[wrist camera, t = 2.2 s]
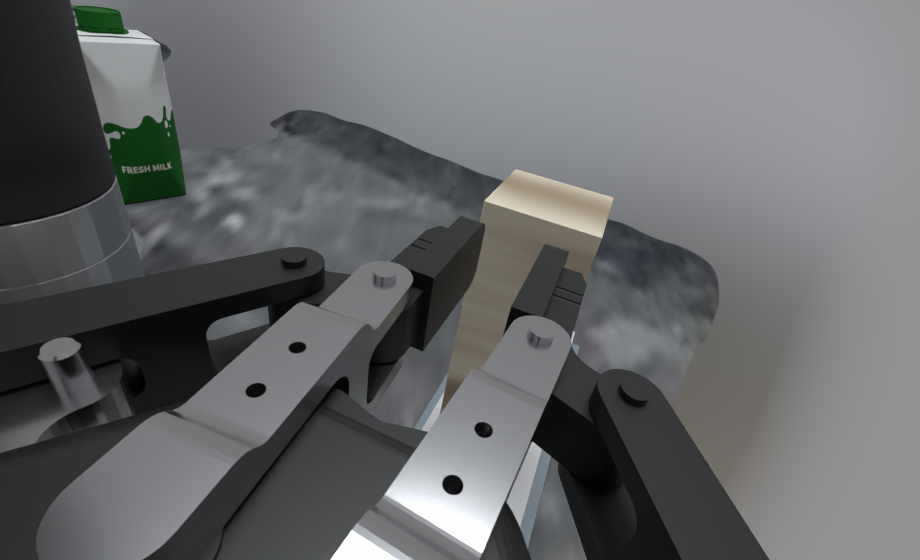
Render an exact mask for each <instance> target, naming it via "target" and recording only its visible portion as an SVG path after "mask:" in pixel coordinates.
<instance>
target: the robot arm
mask: <svg viewBox="0 0 920 560" xmlns="http://www.w3.org/2000/svg"><path fill="white" fill-rule="evenodd" d="M484 233H485V224H484V223H481V222H478V221H475V220H472V219H469V218H466V217H463V216H461V217H459V218H458V219H457V220H456V221H455V222H454V223H453V224H452V225H451V226H450V227H449V228H445V227H442V226H438V227H435V228H432V229H429V230H426V231H425V232H424V233H423V234H421V235H420V236H419V237H418V239H416V240H415V241H414V242H412V243H411V245H409V246H408V247H407V248H406V249H404V250H403V251H402V252H401V253H400V254H399V255H398V256H396V257H395V258H394V259H393V260H392V261H391V262H388V261H375V262H370V263H367V264H364V265H362V266H361V267H359V268H358V269H357V270H356V271H355V272H354V273H353V274H352V275H348V274H341V273H335V272H328V271H325V263H324V258H323V257H322V256H321V255H320V254H319V253H318V252H316V251H314V250H311V249H307V248H301V247H289V248H282V249H277V250H272V251H267V252H263V253H258V254H253V255H248V256H243V257H238V258H233V259H228V260H223V261H218V262H213V263H208V264H203V265H198V266H193V267H188V268H183V269H178V270H173V271H168V272H163V273H158V274H153V275H148V276H145V274H144V271H143V267H142V264H141V260H140V257H139V253H138V250H137V247H136V243H135V239H134V236H133V233H132V229H131V225H130V222H129V218H128V215H127V211H126V208H125V204H124V201H123V197H122V194H121V190H120V187H119V183H118V180H117V176H116V174H115V170H114V166H113V163H112V160H111V157H110V153H109V150H108V146H107V143H106V139H105V135H104V132H103V128H102V124H101V120H100V117H99V113H98V109H97V105H96V102H95V98H94V94H93V91H92V87H91V83H90V80H89V76H88V73H87V69H86V65H85V62H84V58H83V54H82V50H81V46H80V42H79V38H78V33H77V29H76V25H75V21H74V16H73V12H72V8H71V3H70V0H0V560H531V558H530V555H529V552H528V549H527V546H526V543H525V540H524V537H523V534H522V532H521V529H520V526H519V524H518V522H517V520H516V518H515V516H514V514H513V512H512V510H511V508H510V507H509V505H508V504H507V500H508V498H509V495H510V493H511V490H512V488H513V486H514V483H515V481H516V479H517V476H518V474H519V472H520V469H521V467H522V464H523V462H524V460H525V457H526V455H527V453H528V450H529V448H530V446H531V443H532V442H534V443H535V444H536V445H537V446H539V447H540V448H541V449H542V450H544V451H545V452H546V453H547V454H549V455H550V456H551V457H552V458H554V459H555V460H556V461H557V462H559V463H558V472H559V476H560V479H561V482H562V485H563V488H564V491H565V495H566V498H567V501H568V504H569V507H570V510H571V513H572V516H573V519H574V522H575V525H576V528H577V531H578V534H579V537H580V540H581V543H582V546H583V549H584V552H585V555H586V558H587V560H769V558H768V557H767V555H766V554H765V552H764V551H763V549H762V548H761V546H760V544H759V543H758V541H757V540H756V538H755V537H754V535H753V534H752V532H751V530H750V529H749V527H748V526H747V524H746V523H745V521H744V520H743V518H742V516H741V515H740V513H739V512H738V510H737V509H736V507H735V506H734V504H733V502H732V501H731V499H730V498H729V496H728V495H727V493H726V492H725V490H724V488H723V487H722V485H721V484H720V482H719V481H718V479H717V478H716V476H715V474H714V473H713V471H712V470H711V468H710V467H709V465H708V464H707V462H706V460H705V459H704V457H703V456H702V454H701V453H700V451H699V450H698V448H697V446H696V445H695V443H694V442H693V440H692V439H691V437H690V436H689V434H688V432H687V431H686V429H685V428H684V426H683V425H682V423H681V421H680V420H679V418H678V417H677V415H676V414H675V412H674V411H673V409H672V407H671V406H670V404H669V403H668V401H667V400H666V398H665V397H664V395H663V394H662V392H661V391H660V390H659V389H658V388H657V387H656V386H655V385H654V384H653V383H652V382H650V381H649V380H648V379H646V378H644V377H643V376H641V375H639V374H636V373H634V372H631V371H627V370H622V369H612V370H608V371H606V372H604V373H603V374H599V373H597V372H596V371H594V370H593V369H591V368H590V367H589V366H587V365H586V364H585V363H584V362H582V361H581V360H580V359H579V357H578V356H577V355H576V353H575V352H574V350H573V348H572V344H571V337H572V334H573V330H574V327H575V323H576V320H577V316H578V313H579V309H580V305H581V302H582V299H583V295H584V292H585V289H586V282H585V280H584V278H583V275H582V273H579V272H576V271H573V270H570V269H567V268H564V266H565V263H566V260H567V257H568V254H569V251H567V250H564V249H561V248H558V247H555V246H552V245H549V244H546V243H545V244H544V246H543V248H542V250H541V251H540V253H539V255H538V257H537V259H536V261H535V263H534V265H533V267H532V268H531V270H530V272H529V274H528V276H527V278H526V280H525V282H524V283H523V285H522V287H521V289H520V291H519V293H518V295H517V297H516V298H515V300H514V302H513V304H512V306H511V309H510V312H509V316H508V319H507V323H506V326H505V330H504V333H503V337H502V339H501V340H500V342H499V343H498V345H497V346H496V348H495V349H494V351H493V352H492V354H491V355H490V357H489V358H488V360H487V361H486V363H485V364H484V366H483V367H482V369H481V370H479V369H477V368H473V369H472V370H471V371H470V373H469V374H468V375H467V377H466V378H465V380H464V381H463V382H462V384H461V385H460V387H459V388H458V390H457V391H456V393H455V394H454V395H453V397H452V398H451V400H450V401H449V403H448V404H447V405H446V407H445V408H444V410H443V411H442V413H441V414H440V416H439V417H438V418H437V420H436V421H435V423H434V424H433V426H432V427H431V428H430V430H429V431H428V432H427V431H423V430H418V429H413V428H408V427H403V426H399V425H394V424H389V423H385V422H382V421H379V420H378V419H376V418H375V417H374V416H373V415H371V414H372V413H373V411H374V410H375V408H376V406H377V405H378V403H379V402H380V400H381V398H382V397H383V395H384V393H385V392H386V390H387V389H388V387H389V385H390V384H391V382H392V381H393V379H394V377H395V376H396V374H397V373H398V371H399V369H400V368H401V366H402V363H403V357H404V354H405V352H406V351H407V350H408V348H409V347H410V346H411V347H414V348H416V349H418V350H421V351H423V350H424V349H425V347H426V346H427V345H428V343H429V342H430V340H431V339H432V338H433V336H434V335H435V334H436V332H437V331H438V330H439V328H440V327H441V325H442V324H443V323H444V321H445V320H446V319H447V317H448V316H449V314H450V313H451V312H452V310H453V309H454V308H455V306H456V305H457V304H458V302H459V301H460V299H461V298H462V297H463V295H464V294H465V293H466V291H467V290H468V288H469V287H470V285H471V283H472V281H473V279H474V276H475V273H476V269H477V265H478V261H479V256H480V251H481V247H482V242H483V238H484ZM265 306H268V313H269V322H270V324H267V325H263V326H260V327H257V328H253V329H250V330H246V331H243V332H240V333H236V334H233V335H230V336H226V337H223V338H219V339H216V340H207V337H206V332H207V329H208V328H209V326H210V325H211V324H212V323H213V322H215V321H216V320H219V319H221V318H224V317H228V316H232V315H235V314H239V313H243V312H246V311H250V310H254V309H257V308H261V307H265Z"/></svg>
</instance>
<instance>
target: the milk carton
mask: <svg viewBox="0 0 920 560" xmlns="http://www.w3.org/2000/svg"><path fill="white" fill-rule="evenodd" d="M74 11H75V14H76V18H77V23H78V26H76V29H77V33H78V38H79V42H80V46H81V50H82V54H83V58H84V62H85V65H86V69H87V73H88V76H89V80H90V83H91V87H92V91H93V94H94V98H95V102H96V105H97V109H98V113H99V117H100V120H101V124H102V128H103V132H104V135H105V139H106V143H107V146H108V150H109V153H110V157H111V160H112V163H113V166H114V170H115V174H116V176H117V180H118V183H119V187H120V190H121V194H122V197H123V201H124V204H129V203H135V202H141V201H147V200H154V199H160V198H166V197H172V196H179V195H186V191H185V184H184V176H183V169H182V162H181V155H180V149H179V143H178V138H177V132H176V127H175V122H174V117H173V112H172V107H171V101H170V96H169V91H168V87H167V82H166V78H165V70H164V66H163V60H162V55H161V49H160V44H158V43H156V42H155V41H154V40H153V39H152V38H151V37H149V36H146V35H145V34H143V33H141V32H139V31H137V30H126V29H124V28H123V27H124V26H123V23H122V19H121V14H120V12H119V11H117V10H114V9H109V8H102V7H94V6H74ZM79 24H80V25H79Z"/></svg>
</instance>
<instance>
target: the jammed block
mask: <svg viewBox="0 0 920 560" xmlns="http://www.w3.org/2000/svg"><path fill="white" fill-rule="evenodd" d="M612 201H613V198H612V197H609V196H606V195H602V194H599V193H595V192H592V191H589V190H585V189H582V188H578V187H574V186H571V185H568V184H565V183H561V182H558V181H554V180H551V179H547V178H544V177H540V176H537V175H534V174H530V173H527V172H523V171H520V170H517V169H516V170H515V171H514V172H513V173H512V174H511V175H510V176H509V177H508V178H507V179H506V180H505V181H504V182H503V183H502V184H501V185H500V186H499V187H498V188H497V189H496V190H495V191H494V192H493V193H492V194H491V195H490V196H489V197H488V198H487V199H486V200H485V201H484V204H483V209H482V214H481V219H480V222H481V223H484V224H485V233H484V238H483V242H482V247H481V251H480V256H479V261H478V265H477V269H476V273H475V276H474V279H473V281H472V283H471V285H470V287H469V288H468V290H467V291H466V293H465V295H464V300H463V305H462V310H461V315H460V320H459V324H458V329H457V334H456V339H455V344H454V348H453V353H452V358H451V363H450V368H449V372H448V377H447V382H446V387H445V392H444V396H443V401H442V406H441V411H440V414H441V413H442V411H443V410H444V408H445V407H446V405H447V404H448V403H449V401H450V400H451V398H452V397H453V395H454V394H455V393H456V391H457V390H458V388H459V387H460V385H461V384H462V382H463V381H464V380H465V378H466V377H467V375H468V374H469V373H470V371H471V370H472V369H473V368H477V369H479V370H481V369H482V367H483V366H484V364H485V363H486V361H487V360H488V358H489V357H490V355H491V354H492V352H493V351H494V349H495V348H496V346H497V345H498V343H499V342H500V340H501V339H502V337H503V333H504V330H505V326H506V323H507V319H508V316H509V312H510V309H511V306H512V304H513V302H514V300H515V298H516V297H517V295H518V293H519V291H520V289H521V287H522V285H523V283H524V282H525V280H526V278H527V276H528V274H529V272H530V270H531V268H532V267H533V265H534V263H535V261H536V259H537V257H538V255H539V253H540V251H541V250H542V248H543V246H544V244H545V243H546V244H549V245H552V246H555V247H558V248H561V249H564V250H567V251H569V254H568V257H567V260H566V263H565V266H564V268H567V269H570V270H573V271H576V272H579V273H582V275H583V278H584V280H585V281H586V278H587V276H588V273H589V270H590V268H591V265H592V263H593V260H594V258H595V255H596V252H597V250H598V247H599V245H600V242H601V240H602V237H603V233H604V229H605V226H606V222H607V219H608V215H609V211H610V208H611V204H612Z"/></svg>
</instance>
